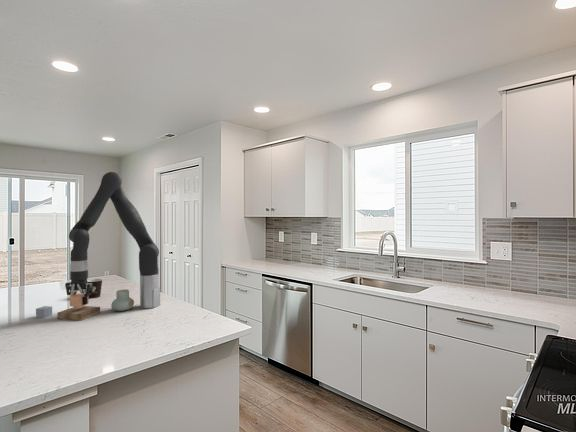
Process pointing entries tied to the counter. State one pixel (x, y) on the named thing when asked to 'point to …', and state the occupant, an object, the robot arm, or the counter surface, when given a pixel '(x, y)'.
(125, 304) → the air freshener
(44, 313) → the slate block
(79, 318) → the walnut plinth
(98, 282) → the coffee mug
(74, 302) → the terracotta block
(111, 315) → the counter surface
